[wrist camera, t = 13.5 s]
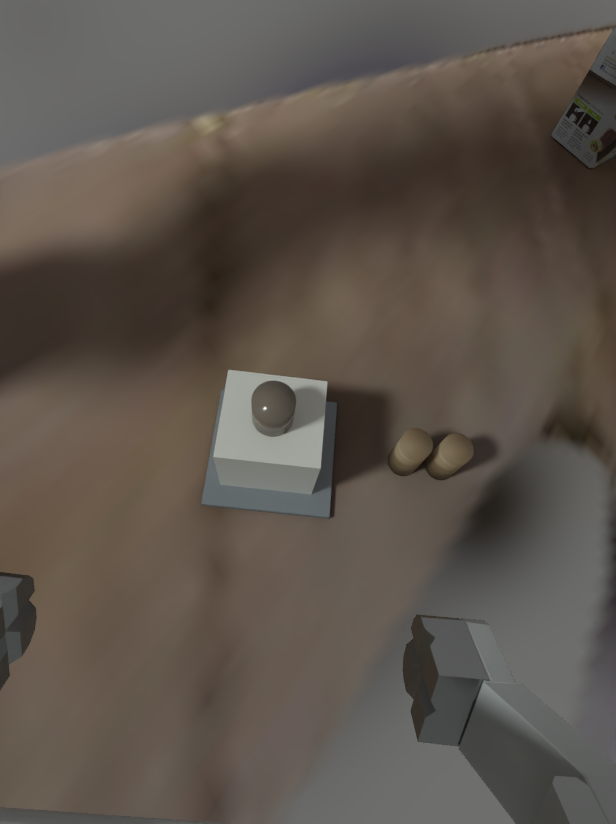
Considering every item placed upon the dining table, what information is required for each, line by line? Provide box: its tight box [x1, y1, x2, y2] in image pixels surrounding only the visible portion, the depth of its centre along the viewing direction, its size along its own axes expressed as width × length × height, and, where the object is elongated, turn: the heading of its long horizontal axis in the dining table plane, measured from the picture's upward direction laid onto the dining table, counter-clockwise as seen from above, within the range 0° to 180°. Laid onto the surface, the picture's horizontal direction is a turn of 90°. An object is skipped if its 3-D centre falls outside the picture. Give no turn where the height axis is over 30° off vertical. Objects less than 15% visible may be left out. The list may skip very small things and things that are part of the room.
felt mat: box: [201, 389, 337, 519], centre depth 37 cm, size 9×9×1 cm
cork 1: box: [388, 428, 433, 476], centre depth 36 cm, size 2×2×4 cm
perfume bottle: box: [213, 370, 327, 494], centre depth 33 cm, size 6×6×8 cm
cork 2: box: [425, 433, 474, 480], centre depth 36 cm, size 2×2×4 cm
